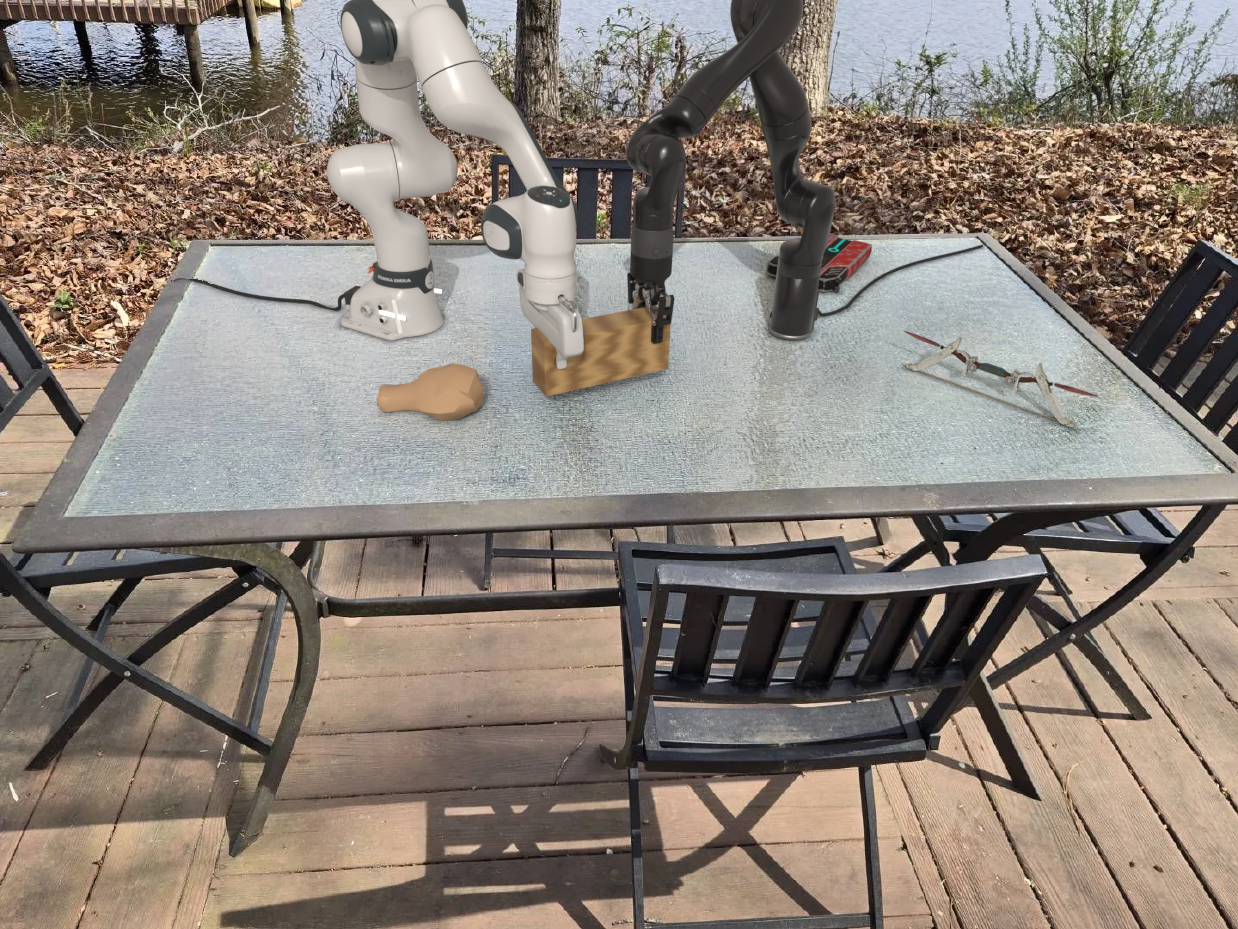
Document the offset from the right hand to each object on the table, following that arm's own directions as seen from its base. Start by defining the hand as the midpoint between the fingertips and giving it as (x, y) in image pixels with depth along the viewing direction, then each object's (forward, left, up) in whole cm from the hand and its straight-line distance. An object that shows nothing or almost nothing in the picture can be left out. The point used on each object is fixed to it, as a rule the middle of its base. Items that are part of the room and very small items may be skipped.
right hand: (648, 335), depth 165 cm
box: (+9, -3, -6) cm, 12 cm away
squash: (+36, -20, -12) cm, 43 cm away
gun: (-81, -19, -12) cm, 84 cm away
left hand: (+19, -5, -1) cm, 20 cm away
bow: (-52, +44, -12) cm, 69 cm away
